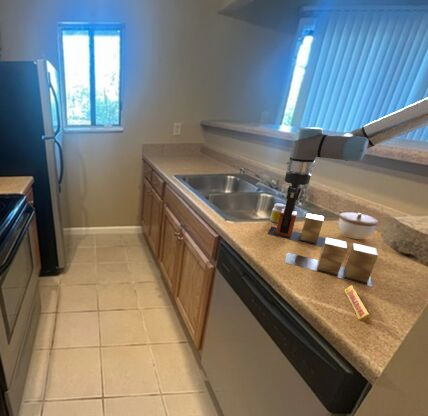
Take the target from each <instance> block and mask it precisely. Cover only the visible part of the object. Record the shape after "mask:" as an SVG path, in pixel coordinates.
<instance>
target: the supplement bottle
mask: <svg viewBox="0 0 428 416" xmlns="http://www.w3.org/2000/svg"><path fill="white" fill-rule="evenodd" d="M285 207H286V204H285V203H278V202H277V203H274V205H273V208H272V210H271V214H270V219H269V223H270V224H272V225H276V226H277V225H278V221H279V217H280V213H281V211H282V209H285Z"/></svg>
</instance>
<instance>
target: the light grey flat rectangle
mask: <svg viewBox="0 0 428 416" xmlns="http://www.w3.org/2000/svg"><path fill="white" fill-rule="evenodd" d="M318 260H319V259H315V258H312V257H307V256H304V255H300V254H296V253H292V252H286V255H285V258H284V263H286V264H288V265H292V266H295V267H299V268H304V269H306V270H311V271H314V272H316V273H320V274H325V275H328V276H332V277H334V278H339V279H343V280H346V281H349V282H352V283H357V284H361V285H364V286H368V287H371V288H373V283H372V278H371V275H370V277H369V280H368V282H367V283H366V282H363V281H359V280H355V279H352V278H348V277H345V275H344V268H345V266H342V265H341V267H340V270H339V273H338V275H337V274H333V273H330V272H326V271H323V270H319V269H317V266H318Z"/></svg>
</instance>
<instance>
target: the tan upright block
mask: <svg viewBox="0 0 428 416" xmlns="http://www.w3.org/2000/svg"><path fill="white" fill-rule="evenodd" d="M324 238H325V241H324V244H323V247H321V251H320V253H319V257H318V259H317V260H318V266H317V269H319V270H323V271H326V272H330V273H333V274H337V275H338V273H339V270H340V267H341V266H342V264H343V261H344V258H345V256H346V253H347V250H348V243H347V241H344V240H341V239H335V238H331V237H326V236H325V237H324Z"/></svg>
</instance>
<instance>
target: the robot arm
mask: <svg viewBox="0 0 428 416" xmlns="http://www.w3.org/2000/svg"><path fill="white" fill-rule="evenodd" d="M427 126H428V97H426V98H424V99H422V100H419V101H416V102H415V103H413V104H410V105H408V106H406V107H404V108H401V109H399V110H397V111H394V112H392V113H390V114H388V115H385V116H383V117H381V118H379V119H377V120H374V121H372V122H370V123H367V124H365V125H362V126H361V127H358V128H356V129H354V130H352V131H349V132H347V133H344V134H342V135H341V134H340V135H338V134H337V135H336V134H325V133H324V132H323V131H324V129H323V128H322V127H310V126H308V127H307V126H306V127H305V126H304V127H299V128H297V129H296V132H295V134H294V138H293V140H292V145H291V150H290V153H289V160H288V161H286V163H285V164H286V165H287V168H286V170H287V171H286V172H285V175H284V182H285V183H287V184H290V185H288V187H287V194H286V202H285V205H286V207H285V211H284V214H283V215H281V217H283V219H282V223H281V227H280V231H279V232H281V233H286V234H288V231H289V227H290V223H291V219H292V213H293V211H297V210H295V209H296V203H297V201H298V199H299V196H300V194H301V192H302V187H301V185H302V186H305V185H308V184H309V183H310V181H311V178H312V174H311V173H312V172H313V170H314V166H315V163H316V158H320V159H321V158H322V159H331V160H332V159H333V160H339V161H346V162H350V161H351V162H360V161H362V160H363V159H364V157H365V155H366V152H367V150H368V149H371V148H372V147H375V146H377V145H380V144H382V143H386V142H388V141H390V140H393V139H396V138H399V137H401V136H404V135H406V134H409V133H412V132H414V131H416V130H420V129H422V128H424V127H427ZM323 133H324V134H323Z"/></svg>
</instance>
